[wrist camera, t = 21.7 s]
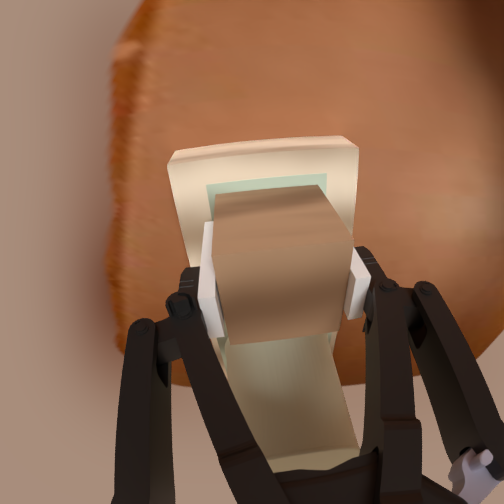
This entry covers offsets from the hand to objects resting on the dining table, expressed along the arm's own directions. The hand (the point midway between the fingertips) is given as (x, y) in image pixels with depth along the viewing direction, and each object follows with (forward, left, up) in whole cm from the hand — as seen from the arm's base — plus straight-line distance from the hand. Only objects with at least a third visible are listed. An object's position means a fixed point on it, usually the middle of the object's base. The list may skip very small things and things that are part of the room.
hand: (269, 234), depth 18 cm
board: (+6, 0, -3) cm, 7 cm away
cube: (0, 0, 0) cm, 0 cm away
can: (+12, 0, -1) cm, 12 cm away
